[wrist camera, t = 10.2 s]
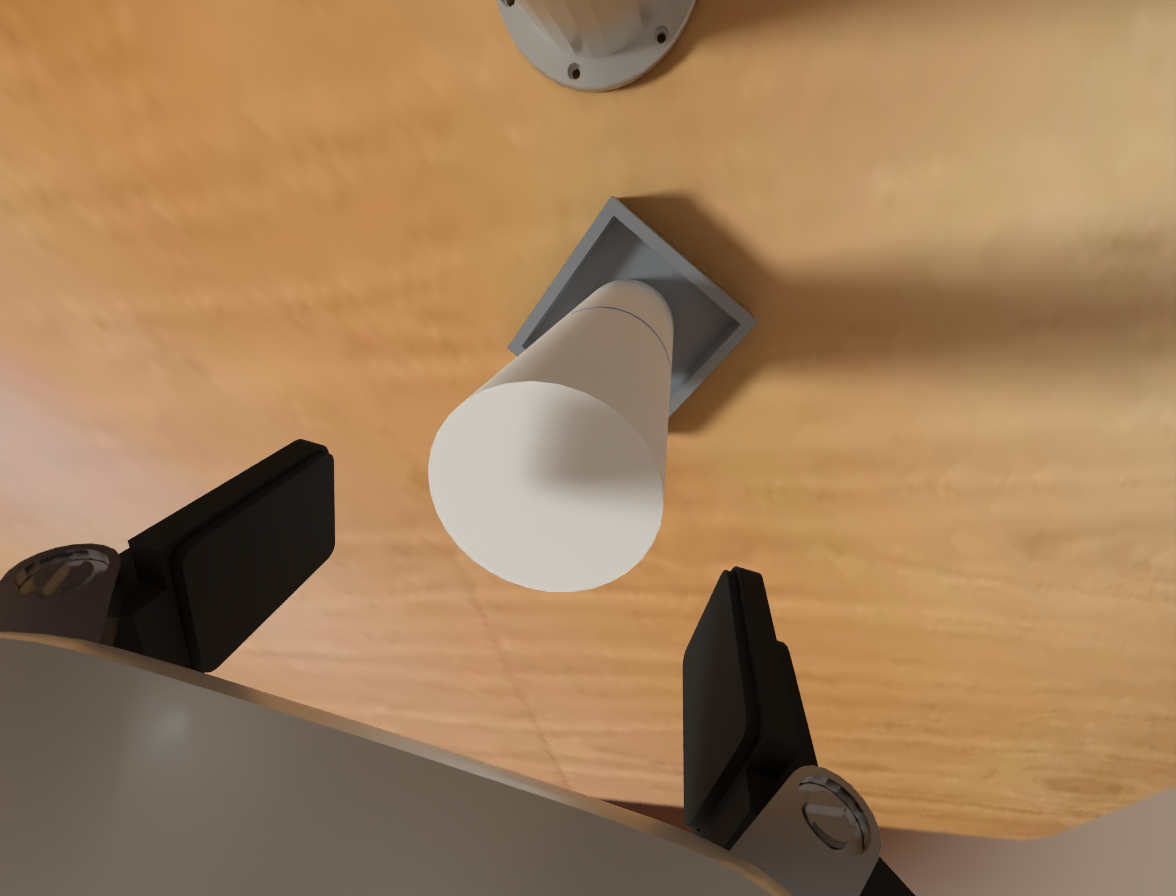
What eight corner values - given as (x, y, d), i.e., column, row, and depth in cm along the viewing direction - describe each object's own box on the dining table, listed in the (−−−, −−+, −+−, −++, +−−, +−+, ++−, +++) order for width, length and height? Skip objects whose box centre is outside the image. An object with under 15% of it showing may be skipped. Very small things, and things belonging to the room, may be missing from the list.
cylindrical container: (694, 328, 36) (717, 507, 14) (625, 393, 39) (553, 625, 17) (625, 257, 35) (527, 324, 12) (560, 329, 38) (386, 488, 15)
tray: (617, 197, 34) (611, 195, 31) (751, 313, 36) (758, 322, 33) (520, 337, 40) (507, 348, 36) (640, 432, 41) (637, 450, 38)
